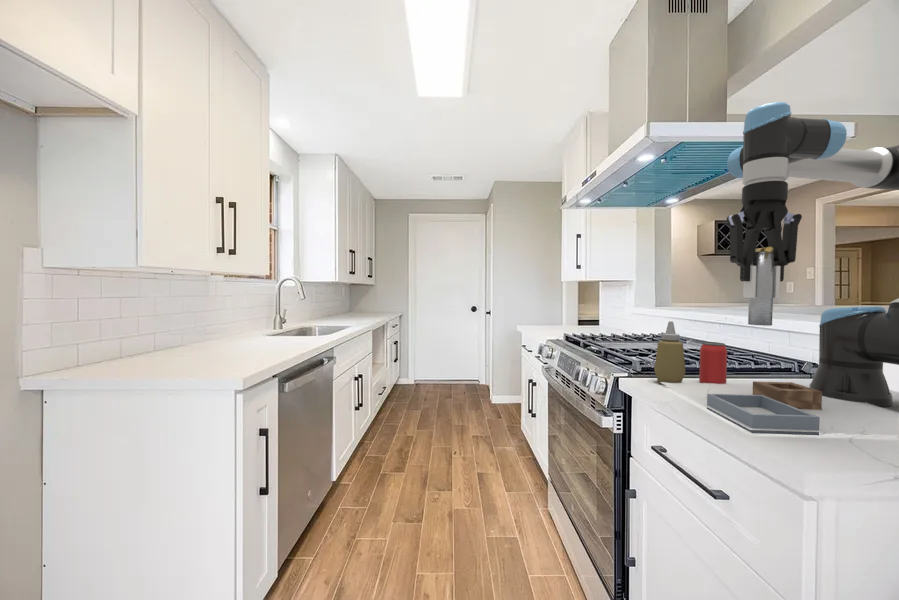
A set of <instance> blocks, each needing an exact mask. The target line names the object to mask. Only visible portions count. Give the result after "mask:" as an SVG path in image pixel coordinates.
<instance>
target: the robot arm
mask: <svg viewBox="0 0 899 600" xmlns="http://www.w3.org/2000/svg"><path fill="white" fill-rule="evenodd" d="M791 115H792V111H791V106H790V104H788V103H787V102H783V101H775V102H767V103H764V104H760V105H758V106H756V107H754V108H752V109H750V110H749V111H747V113H746V115H745V117H744V123H743V124H744V125H743V131H742V134H743V144H742V146H740V147H737V148H736V149H734V150H732V152H731V153H730V154H729V156H728V158H727V162H726V163H727V164H726V165H727V170H728V172H729V173H730V175H732V176H733V177H734V178H736V179H737V178H738V179H742V184H743V185H744V186H743V187H742V188H741V189H742V190H741V204H742V208H741V209H740V212H739V213H735V214H731V215H728V216H727V217H726V222H727V224H728V227H729V262H730V263H732V264H736V266H738V267H739V280H740V282H743V290H742V291H743V293H742V294H743V295H742V297H743V298H746V299H747V298H748V299H749V298H755V292H756V266H751V264H752V262H753V258H754V254H755V250H756V249H757V245H758V241H759V237H760V233H762V231H763V232H764V234H765V235H766V242H767V247H773V252H774V279H773V299H780V295H781V294H780V290H781V289H780V288H781V282H784V277H785V266H788V265H789V264H791V263H795V261H796V255H797V244H798V232H799V231H798V230H799V224H800V222H801V220H802V217H803V216H802V214H801V213H796V214H794V213H793V212H792V213H791V212H789V210H788V208H787V206H786V203H787V200H788V196H789V195H788V193H789V192H788V191H789V183H788V182H787V180H789V178H794V179H795V178H796V179H808V180H817V181H818V180H820V181H821V180H822V181H830V182H832V181H833V182H844V183H851V184H852V185H853V186H855V187H857V188H863V189H874V190H875V189H876V190H884V191H885V190H888V191H899V144H898V145H893V146H890V147H880V146H876V147H875V146H874V147H871V148H868V149H865V150H864V149H852V148H843V147H844V145H845V143H846V141H847V135H848V133H847V129H846V126H845V124H843V123H842V122H839V121H835V120H831V119H827V118H821V119H818V118H801V117H799V118H798V117H794V116H791ZM743 222H745V224H746V226H745V231H744V225H743ZM781 222H782V223H783V226H782V223H781ZM744 233H745V236H744ZM888 305H889V307H888V309H887V311H886V308H885V307H883V306H854V307H853V306H852V307H835V308H828V309H825V310H824V311H823V312H822V313H821V315H820V323H819V325H818V326H819V346H818V347H819V348H818V349H819V351H818V357H819V358H818V367H817V369H816V371H815V373H814V375H813V377H812V380H811V382H810V383H809V386H808V387H809V388H812V389H815V390H818V391H822V397H826V398H830V399H834V400H840V401H841V400H842V401H847V402H854V403H864V404H869V405H871V406H872V405H873V406H876V407H879V408H881V407H884V408H885V407H891V406H893V394H892V392H890V388H889V384H888V381H887V380H886V377H885V375H884V364H889V365H890V364H891V365H898V366H899V297H898V298H896V299H894V300H892V301H890V302H889V304H888Z"/></svg>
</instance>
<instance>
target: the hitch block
mask: <svg viewBox="0 0 899 600" xmlns="http://www.w3.org/2000/svg"><path fill="white" fill-rule="evenodd" d="M751 395H763V396H766V397H769V398H771V399H774V400H776V401H779V402H782V403H784V404H787V405H790V406H792V407H795V408H797V409H800V410H812V411H813V410H814V411H815V410H816V411H817V410H819V411H821V410H822V409H823V408H822V406H823V396H822V391H818V390H815V389H812V388H809V386H805V385H803V384H802V385H801V384H799V383H796V382H795V383H794V382H792V381H791V382H790V381H789V382H787V381H785V382H783V381H782V382H781V381H752V394H751Z"/></svg>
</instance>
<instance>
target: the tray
mask: <svg viewBox="0 0 899 600" xmlns="http://www.w3.org/2000/svg"><path fill="white" fill-rule="evenodd" d="M706 395H707V396H706V406H709V407H710V408H709V407H706V409H707V410H708V411H710V412H712V413H714V414H716V415H717V416H719V417H721V418H723V419H724V420H727V421H729V422H730V423H732V424H735V425H736V426H738V427H740V428H742V429H743V430H745V431H747V432H749V433H750V434H764V435H765V434H766V435H770V434H771V435H792V436H793V435H794V436H795V435H798V436H800V435H802V436H820V432H819V431H820V418H821V416H818V415H816V414H812V413H811V412H808V411H804V409H797V408H795V407H792V406H790V405H787V404H784V403H782V402H779V401H776V400H774V399H771V398H769V397H766V396H763V395H752V394H733V393H732V394H727V393H707V394H706ZM744 407H745V408H762V409H764V410H766V411H769V412H771V414H770V413H769V414H768V413H753V412H751V411H749V410H747V409H745V408H744ZM713 409H714V410H713ZM715 410H716V411H715ZM717 411H718V412H717ZM772 413H773V414H772ZM723 414H724V415H723ZM725 415H726V416H728V417H729V418H728V417H726V416H725ZM730 418H732V419H733V420H732V419H730ZM734 420H736V421H737V422H736V421H734ZM738 422H740V423H742V424H743V425H742V424H740V423H738ZM744 425H745V426H747V427H749V428H751V429H749V428H747V427H745V426H744ZM763 429H764V430H763ZM765 429H767V430H765ZM795 430H796V431H795Z"/></svg>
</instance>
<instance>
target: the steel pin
mask: <svg viewBox="0 0 899 600" xmlns="http://www.w3.org/2000/svg"><path fill="white" fill-rule="evenodd" d="M751 266H756V292H755V298H748V315H747V316H748V317H747V318H748V319H747V323H748V324H747V325H750V326H766V327H767V326H769V327H770V326H773V309H774V308H773V306H774V304H773V303H774V298H773V279H774V252H773V247H769V246H766V247H765V246H764V247H760V248H759V247H758V248H756V250H755V254H754V258H753V262H752V264H751Z"/></svg>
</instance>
